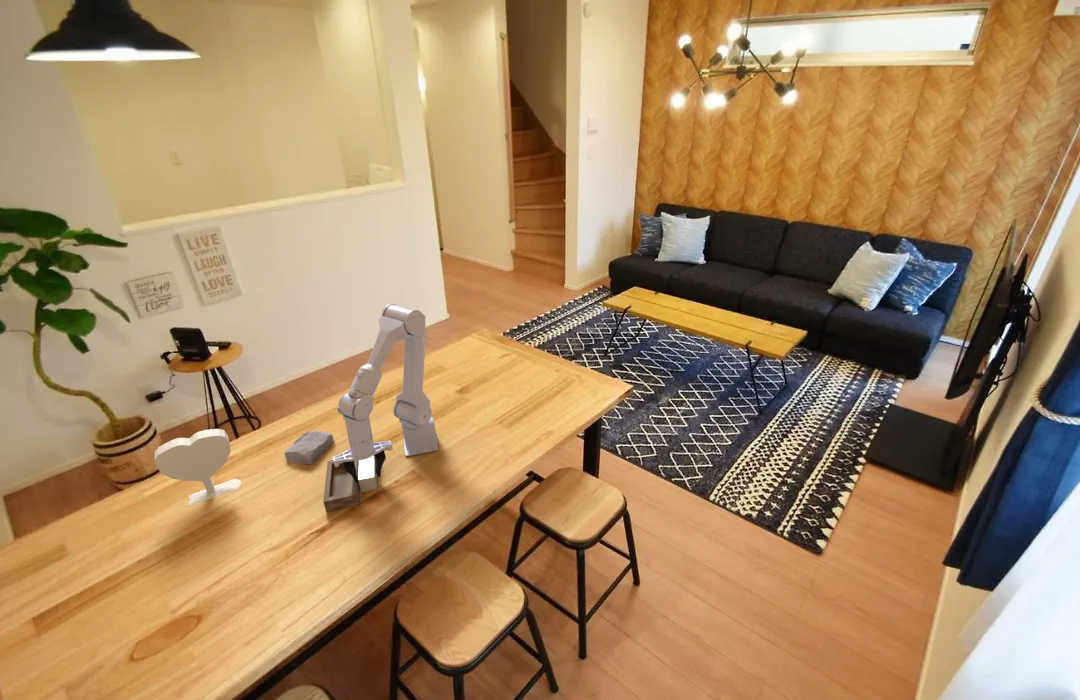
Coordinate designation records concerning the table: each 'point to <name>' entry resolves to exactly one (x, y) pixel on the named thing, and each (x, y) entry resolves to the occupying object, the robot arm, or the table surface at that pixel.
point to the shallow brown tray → (340, 487)
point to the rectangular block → (367, 474)
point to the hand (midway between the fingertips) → (367, 478)
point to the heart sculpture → (197, 462)
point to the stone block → (308, 447)
